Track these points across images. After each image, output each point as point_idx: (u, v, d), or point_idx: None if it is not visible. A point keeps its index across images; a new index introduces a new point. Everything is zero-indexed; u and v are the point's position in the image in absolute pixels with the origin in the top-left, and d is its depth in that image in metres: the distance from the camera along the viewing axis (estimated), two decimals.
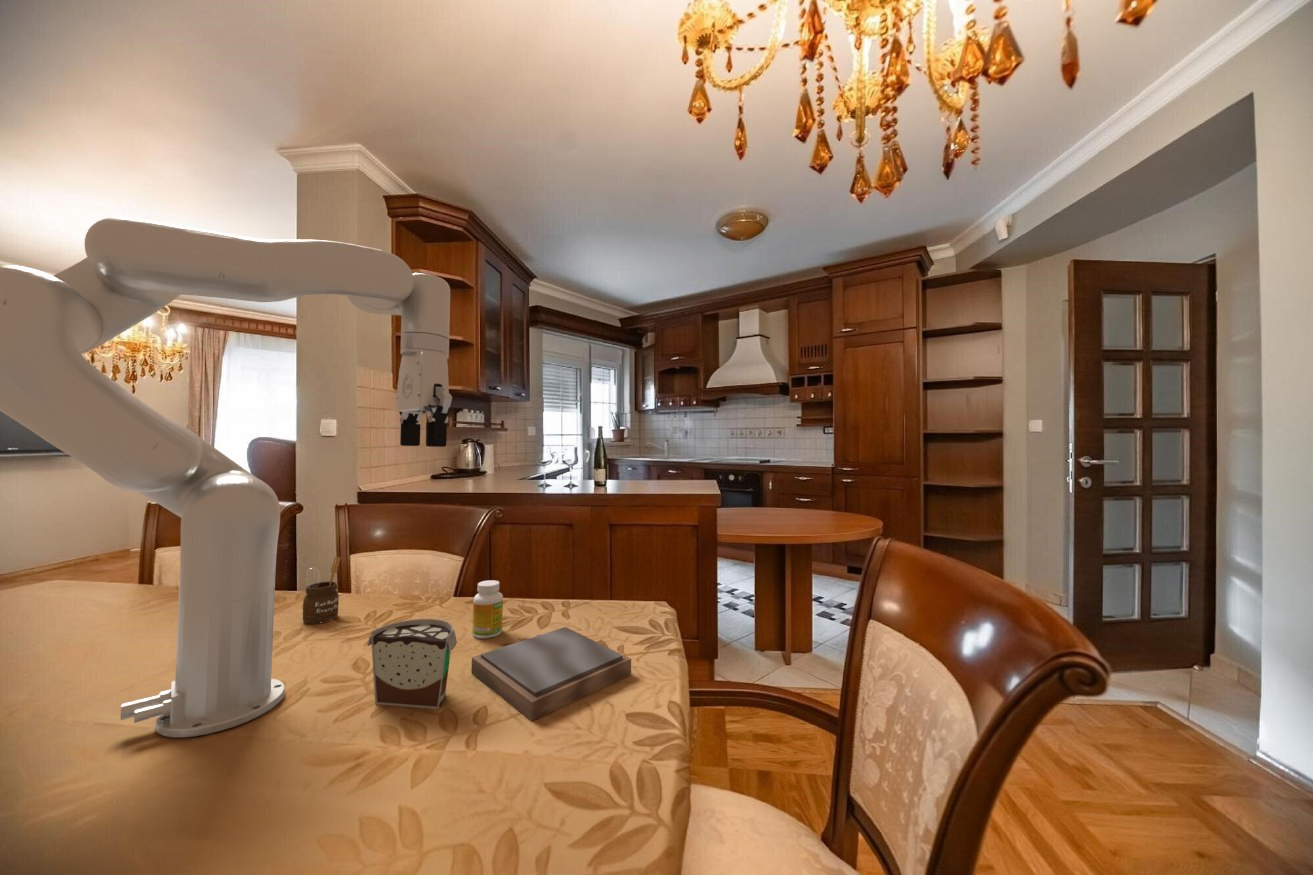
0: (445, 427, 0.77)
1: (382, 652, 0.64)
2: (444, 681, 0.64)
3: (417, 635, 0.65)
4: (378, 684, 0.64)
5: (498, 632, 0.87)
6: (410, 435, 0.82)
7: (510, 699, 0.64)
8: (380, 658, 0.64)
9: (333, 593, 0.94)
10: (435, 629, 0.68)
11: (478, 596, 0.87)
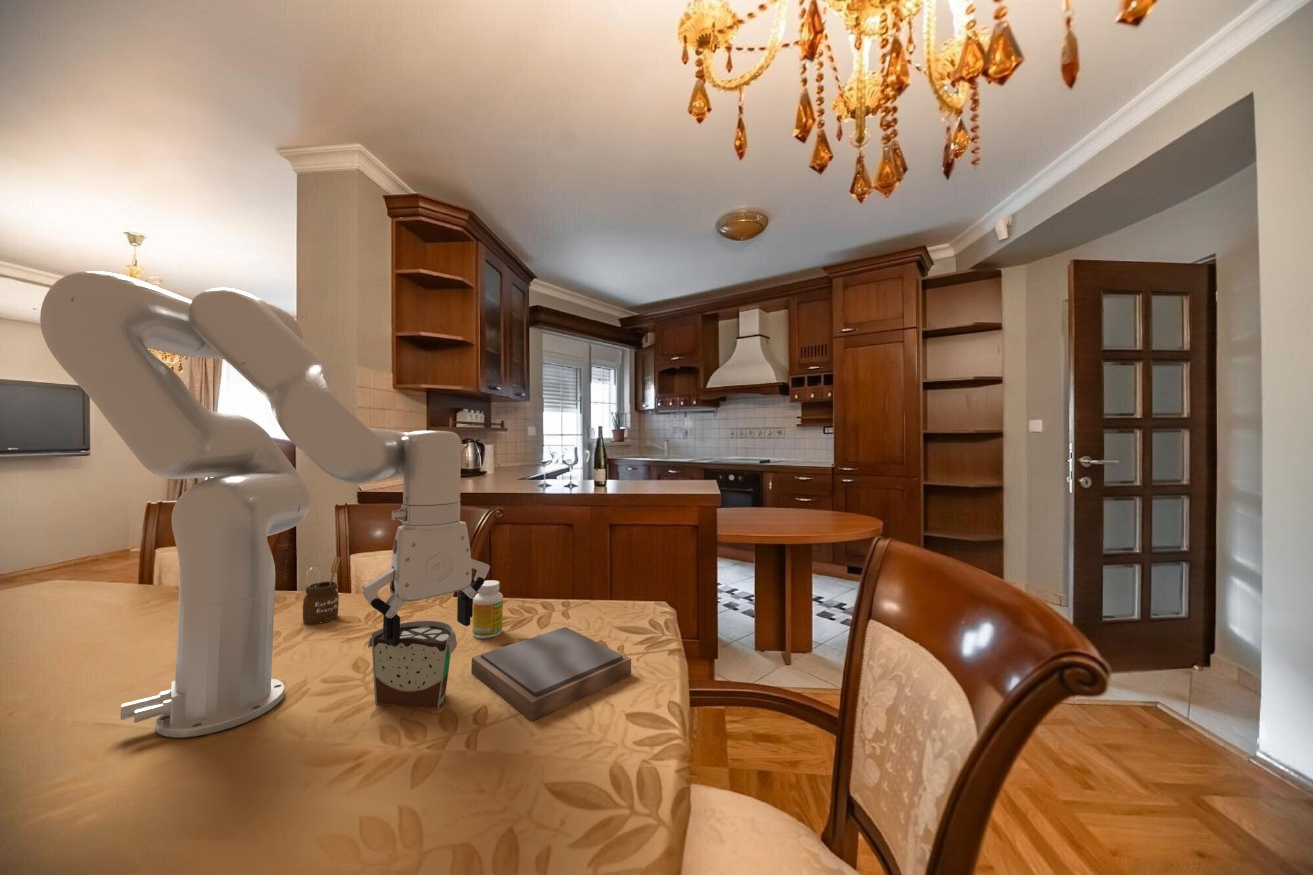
0: None
1: (382, 654, 0.64)
2: (444, 683, 0.64)
3: (417, 637, 0.65)
4: (378, 686, 0.64)
5: (498, 632, 0.87)
6: None
7: (510, 699, 0.64)
8: (380, 659, 0.64)
9: (333, 593, 0.94)
10: (435, 630, 0.68)
11: (478, 596, 0.87)
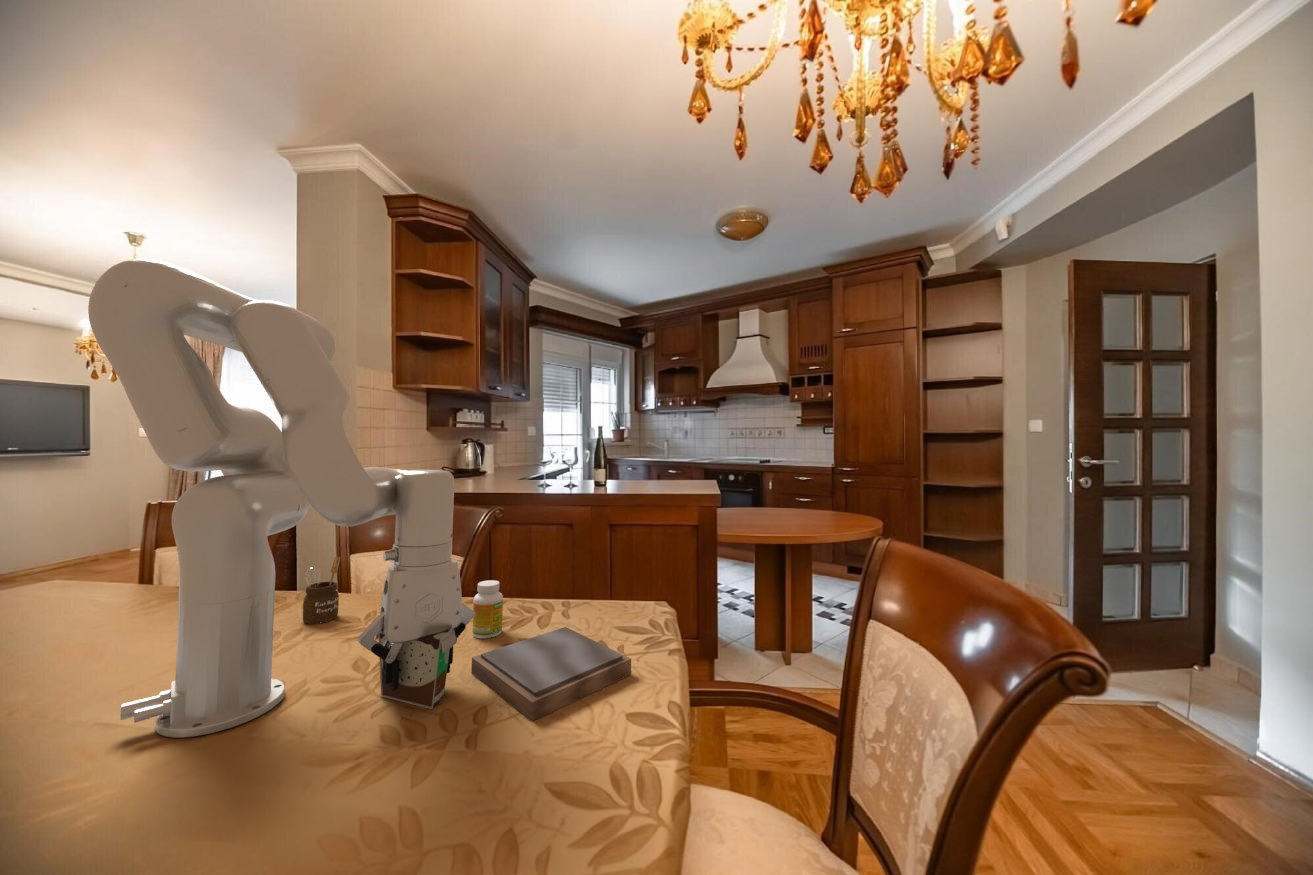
0: None
1: None
2: (439, 682, 0.63)
3: None
4: None
5: (498, 632, 0.87)
6: None
7: (510, 699, 0.64)
8: None
9: (333, 593, 0.94)
10: None
11: (478, 596, 0.87)
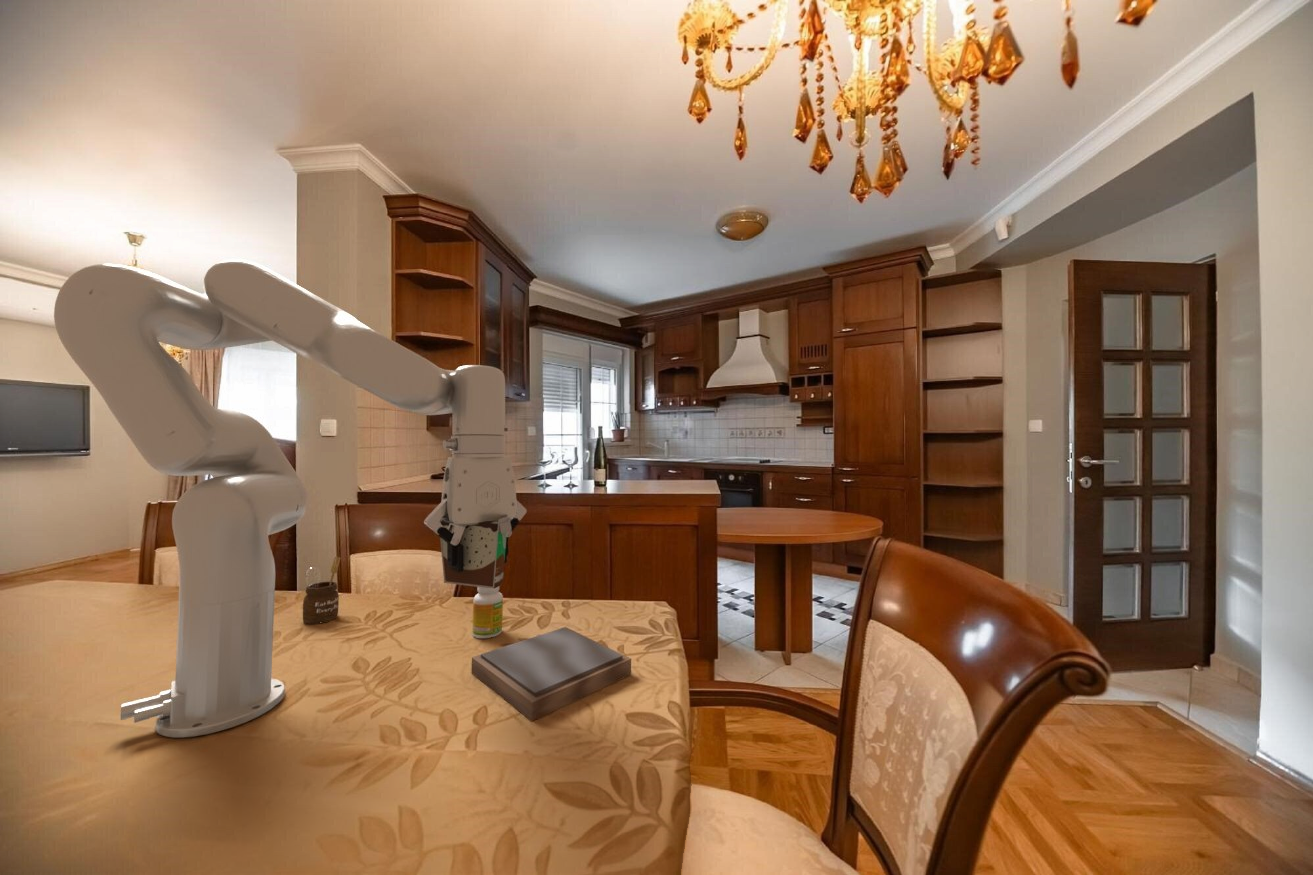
0: None
1: None
2: (499, 563, 0.66)
3: None
4: (446, 565, 0.69)
5: (498, 632, 0.87)
6: None
7: (510, 699, 0.64)
8: None
9: (333, 593, 0.94)
10: None
11: (478, 596, 0.87)
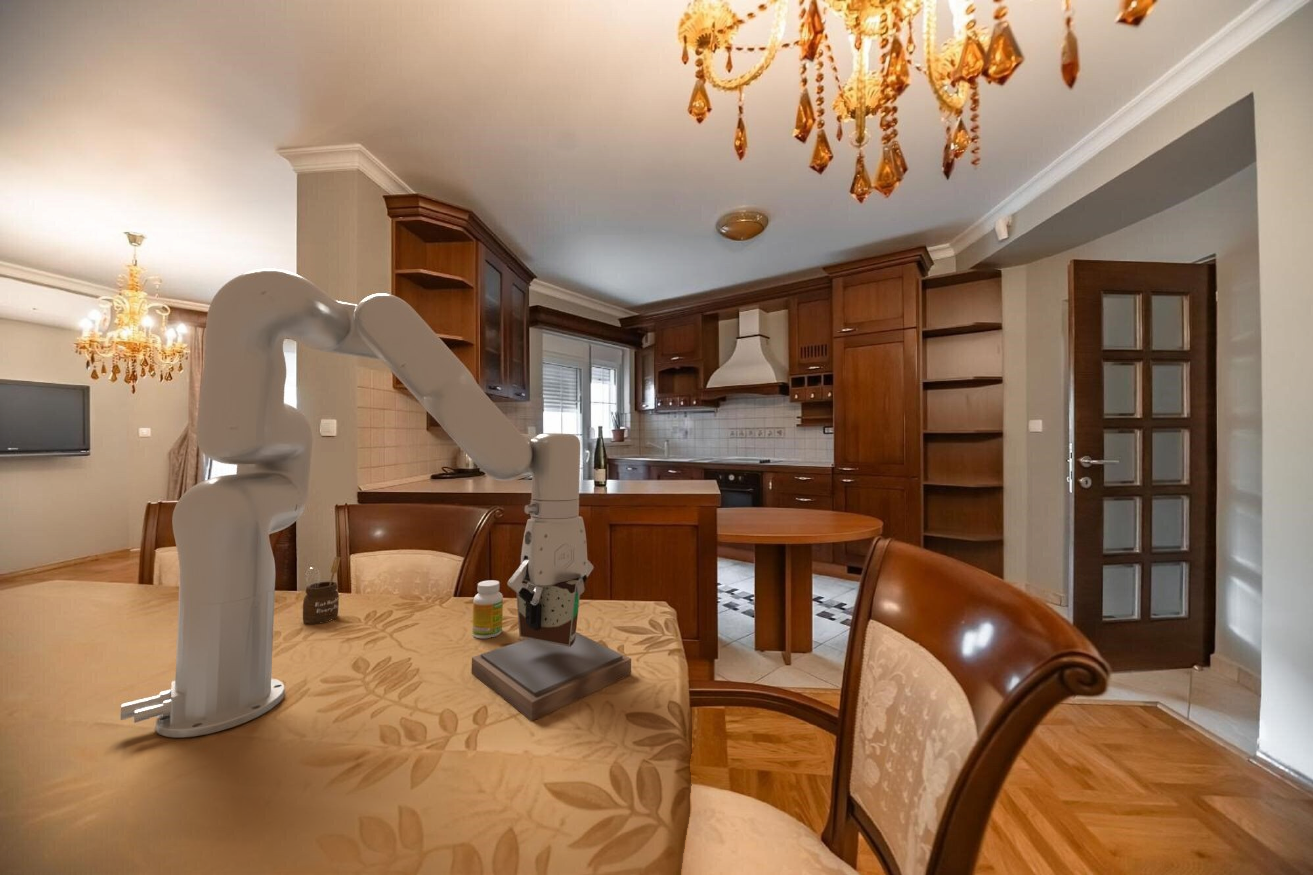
0: None
1: None
2: (574, 623, 0.70)
3: None
4: (521, 620, 0.73)
5: (498, 632, 0.87)
6: None
7: (510, 699, 0.64)
8: None
9: (333, 593, 0.94)
10: None
11: (478, 596, 0.87)
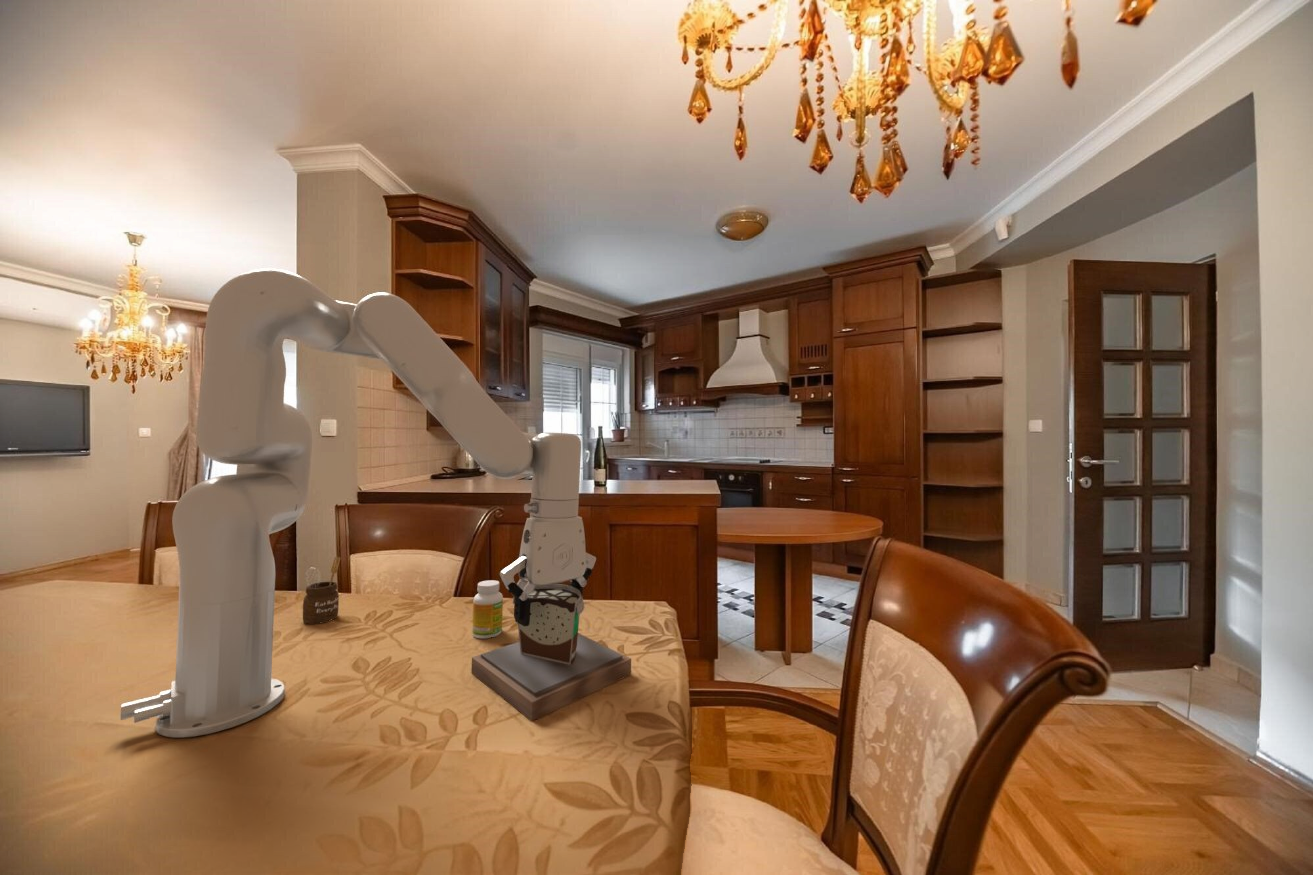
0: None
1: None
2: (574, 641, 0.71)
3: (551, 598, 0.72)
4: (522, 637, 0.73)
5: (498, 632, 0.87)
6: None
7: (510, 699, 0.64)
8: None
9: (333, 593, 0.94)
10: (566, 593, 0.75)
11: (478, 596, 0.87)
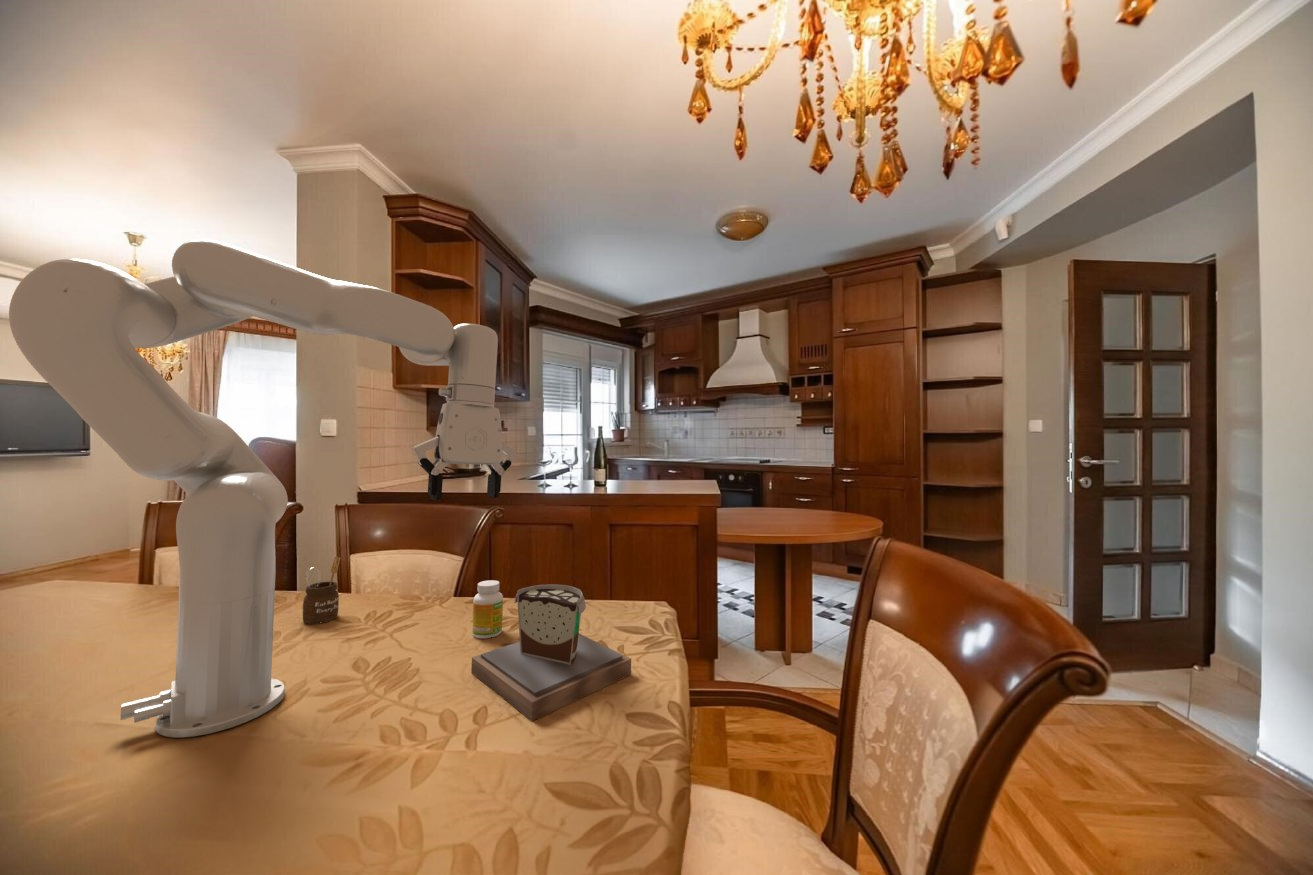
0: None
1: (525, 609, 0.73)
2: (575, 640, 0.71)
3: (553, 597, 0.73)
4: (522, 637, 0.73)
5: (498, 632, 0.87)
6: None
7: (510, 699, 0.64)
8: (524, 614, 0.73)
9: (333, 593, 0.94)
10: (568, 594, 0.75)
11: (478, 596, 0.87)
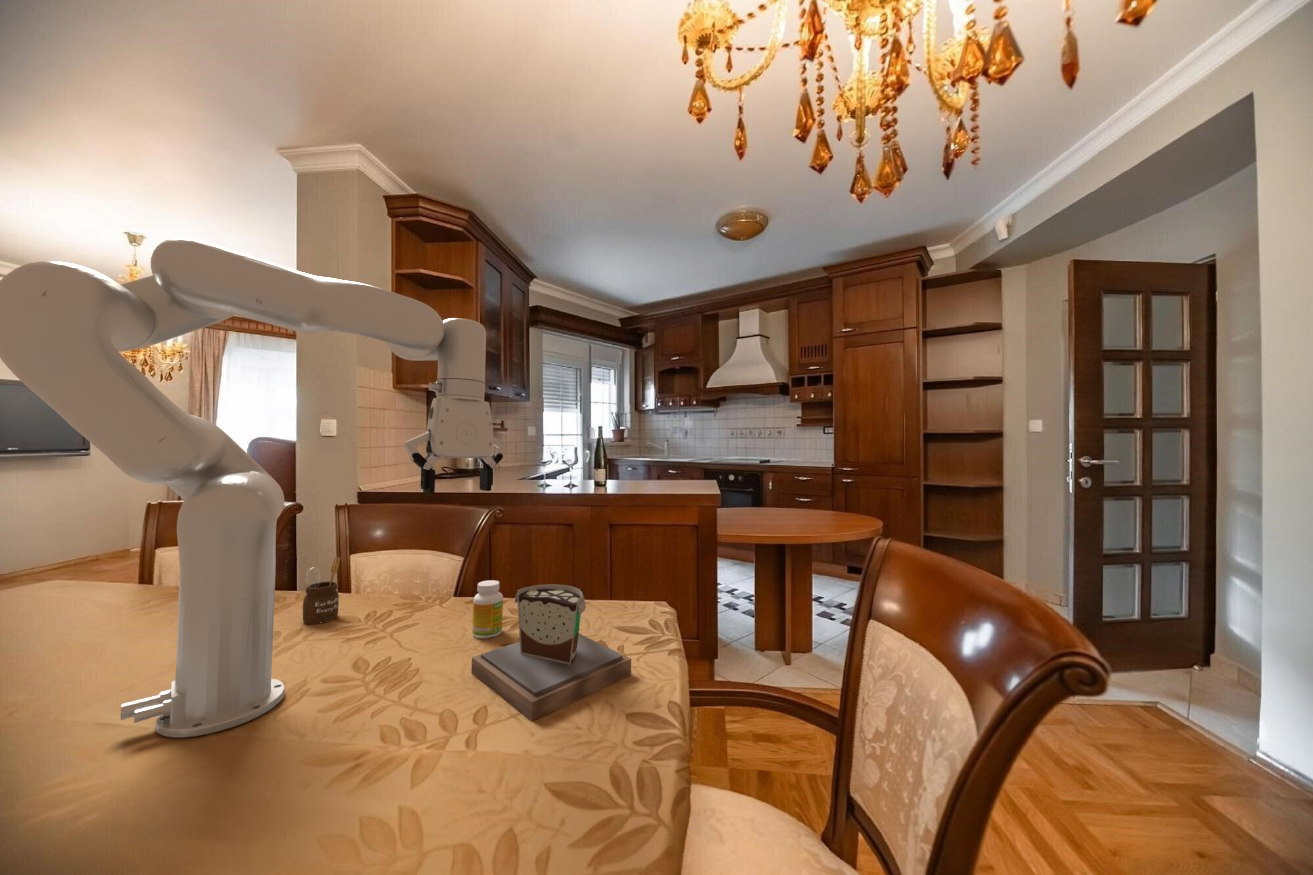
0: None
1: (525, 609, 0.73)
2: (575, 640, 0.71)
3: (553, 597, 0.73)
4: (522, 637, 0.73)
5: (498, 632, 0.87)
6: None
7: (510, 699, 0.64)
8: (524, 614, 0.73)
9: (333, 593, 0.94)
10: (568, 594, 0.75)
11: (478, 596, 0.87)
